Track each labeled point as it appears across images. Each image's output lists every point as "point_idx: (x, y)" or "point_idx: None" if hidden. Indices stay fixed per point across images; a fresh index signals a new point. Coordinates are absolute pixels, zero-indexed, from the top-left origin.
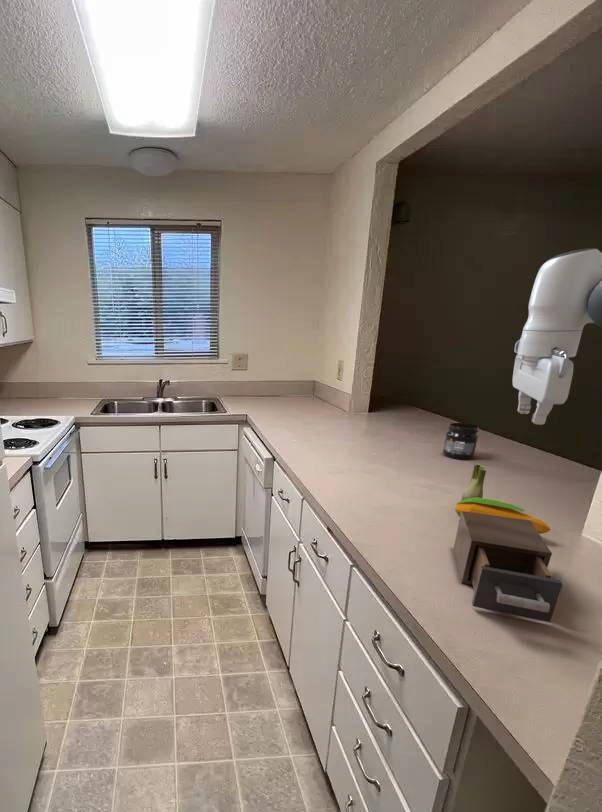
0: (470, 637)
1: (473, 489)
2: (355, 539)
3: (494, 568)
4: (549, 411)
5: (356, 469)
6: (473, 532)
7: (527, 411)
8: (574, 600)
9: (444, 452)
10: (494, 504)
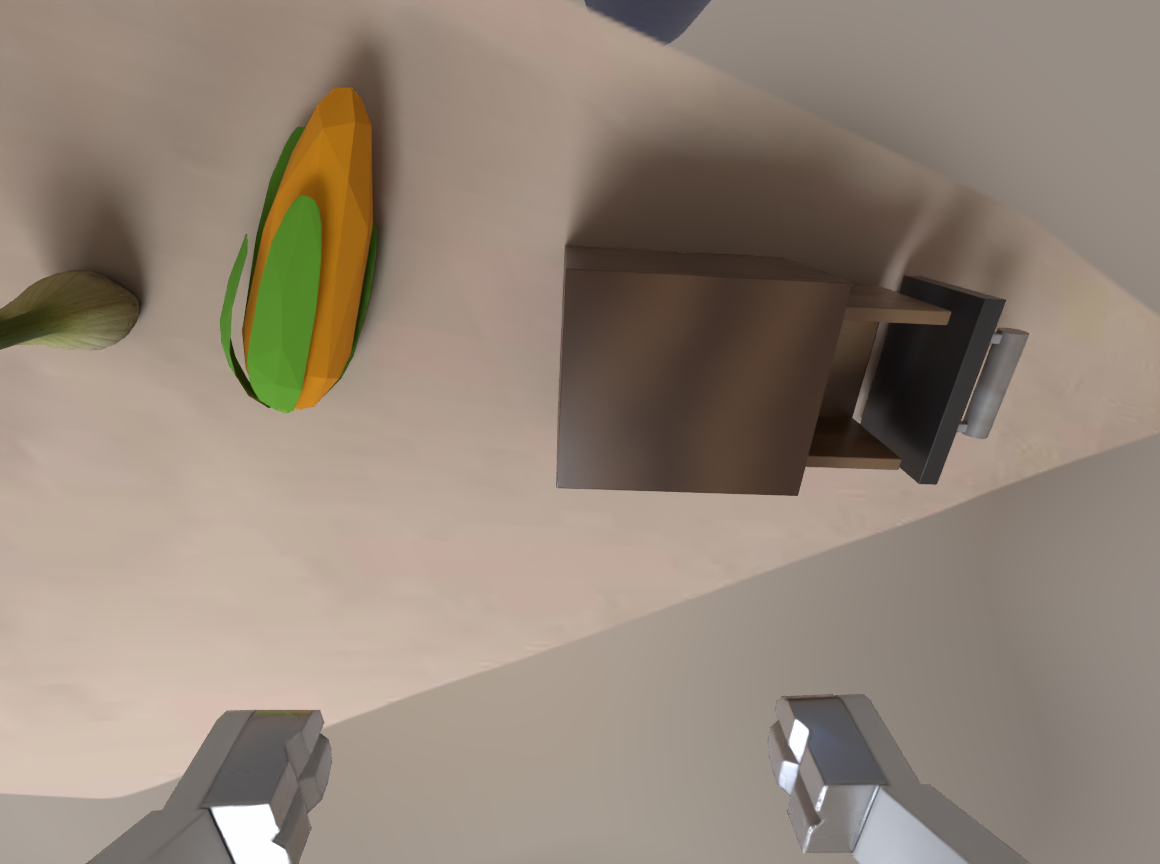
0: (962, 444)
1: (80, 334)
2: (587, 633)
3: (931, 456)
4: (1003, 847)
5: None
6: (738, 482)
7: (309, 741)
8: (774, 153)
9: None
10: (308, 314)
